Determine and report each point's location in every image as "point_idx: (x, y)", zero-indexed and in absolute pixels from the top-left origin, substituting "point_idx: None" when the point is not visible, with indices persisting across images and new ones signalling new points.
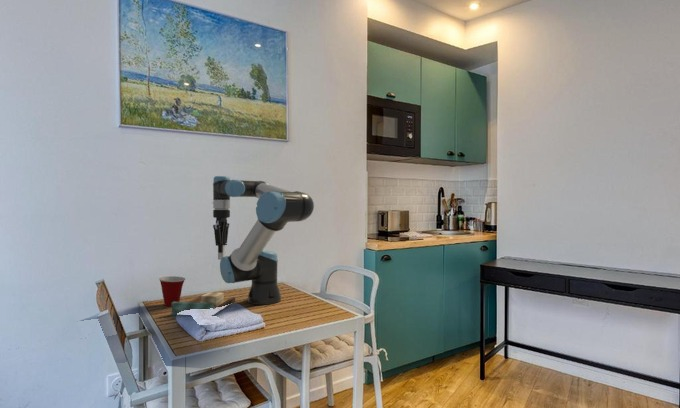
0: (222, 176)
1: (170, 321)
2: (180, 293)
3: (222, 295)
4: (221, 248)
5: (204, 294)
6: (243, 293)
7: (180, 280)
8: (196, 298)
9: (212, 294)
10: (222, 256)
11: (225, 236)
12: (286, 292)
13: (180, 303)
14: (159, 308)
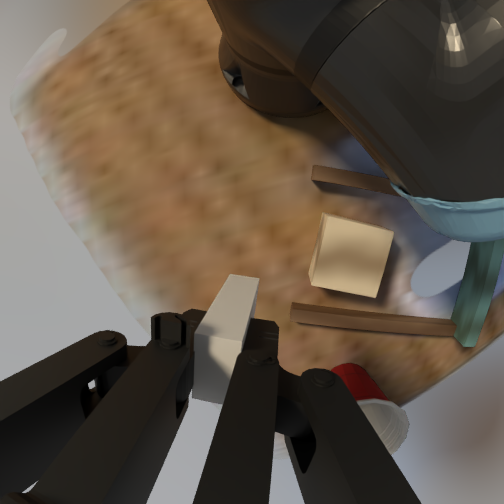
0: None
1: (500, 306)
2: (353, 379)
3: (338, 217)
4: (266, 344)
5: (354, 293)
6: (170, 170)
7: (392, 404)
8: (332, 321)
9: (356, 259)
10: (255, 297)
11: (98, 411)
12: (157, 20)
13: (484, 318)
14: (383, 392)
